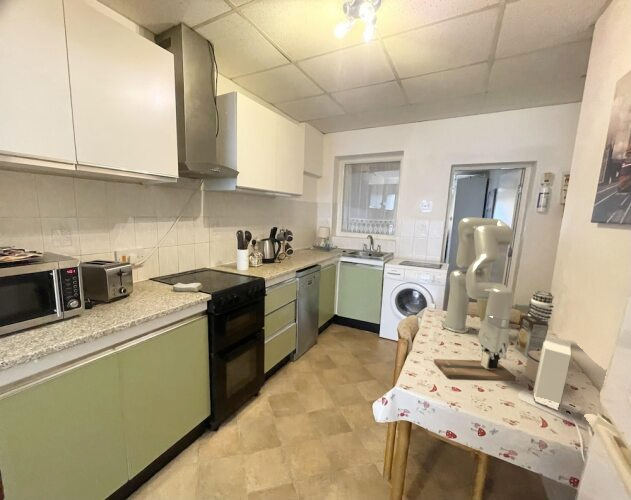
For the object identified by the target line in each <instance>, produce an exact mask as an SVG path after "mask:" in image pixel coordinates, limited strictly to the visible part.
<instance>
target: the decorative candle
mask: <svg viewBox="0 0 631 500" xmlns="http://www.w3.org/2000/svg"><path fill="white" fill-rule="evenodd" d="M554 298H555V296H553V295H552V293H551V292H548V291H545V290H536V291H533V292H532V298H531V300H530V301H529V302H528V303H529V304H528V312H527V316H532V317H537V318H539V319H540V320H542V321H543V322H545V323H546V324H548V325H549V321H551V320H550V319H551V316H550V315H552V312H553V309H552V308H554V305H553V301H554V300H553V299H554Z"/></svg>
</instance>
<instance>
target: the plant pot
mask: <svg viewBox="0 0 631 500" xmlns="http://www.w3.org/2000/svg"><path fill="white" fill-rule="evenodd" d="M487 302H488V301H484V300H476V305H477V306H476V307H477V312H478V318H479V320H480V322H481V323H482V321H483V319H485V314H486V308H487Z"/></svg>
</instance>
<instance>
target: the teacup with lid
mask: <svg viewBox="0 0 631 500" xmlns="http://www.w3.org/2000/svg"><path fill="white" fill-rule="evenodd" d="M541 352H542V350H541V351H529V352H528V357H526V358H527V360H526V364H525V369H524V376H525V377H526V378H527V379H528V380H529V381H531V382H533V383H535V381H536V376H537V371H538V366H539V361H540V356H541Z"/></svg>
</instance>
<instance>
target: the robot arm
mask: <svg viewBox="0 0 631 500" xmlns="http://www.w3.org/2000/svg"><path fill="white" fill-rule="evenodd" d="M457 231H458V233H457V234H458V240H459V241H458V246H457V253H456V258H455V260H456V261H455V263H456V266H457V267H458V268H460V269H455V270H453V271H451V272H450V274H449V294H448V302H447V306H446V307H447V308H446V314H445V315H444V316H443V318H444V321H442V322H441V326H442V328H444V329H445V330H448V331H450V332H453V333H457V334H458V333H459V334H466V333H469V328H468V327H467V326H466V323H467V316H468V313H469V312H468V311H469V306H470V305H469V304H470V299H472V300H476V301H477V300H484V301H488V302H487V308H486V314H485V319H483V321H482V322H481V324H480V327H479V331H478V335H477V342H478V343H479V344H480V346H481V352H482V355H483V351H486V352H491V358H489V364H488V368H489V369H497V365H498V363H499V361H500V360H502V359H503V360H505V359H507V354H506V353H507V351H508V348H509V338H510V329H509V325H510V319H511V313H512V307H513V304H514V297H515V294H514V291H513V290H511V289H509V288H508V287H507V285H505V284H503V283H499V282H489V281H490V278H491V272H492V268H493V264H497V262H499V261H500V259H501V255H500V248H499V246H506V247H507V246H510V245H511V244H512V243H513V241H514V232H513V230H512V228H511V226H509V225H508V224H507V223H506V222H504V221H502V219H498V218H487V217H486V218H485V217H473V216H472V217H471V216H470V217H464V218H461V220H460V221H459V222H458V226H457ZM461 268H462V269H461ZM464 269H467V270H464ZM495 354H497V355H495ZM482 355H481V356H482ZM480 361H482V358H481V360H480Z"/></svg>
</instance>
